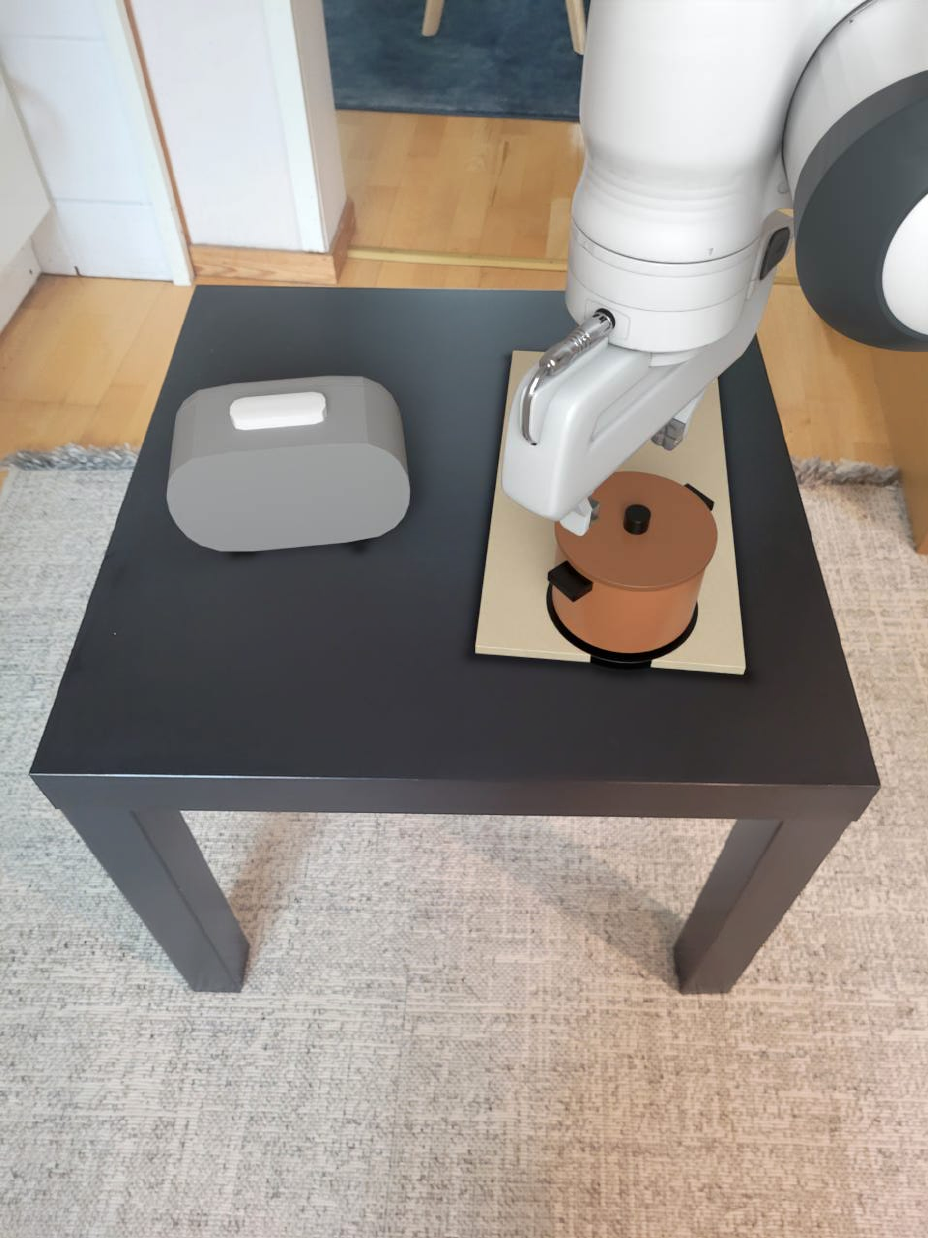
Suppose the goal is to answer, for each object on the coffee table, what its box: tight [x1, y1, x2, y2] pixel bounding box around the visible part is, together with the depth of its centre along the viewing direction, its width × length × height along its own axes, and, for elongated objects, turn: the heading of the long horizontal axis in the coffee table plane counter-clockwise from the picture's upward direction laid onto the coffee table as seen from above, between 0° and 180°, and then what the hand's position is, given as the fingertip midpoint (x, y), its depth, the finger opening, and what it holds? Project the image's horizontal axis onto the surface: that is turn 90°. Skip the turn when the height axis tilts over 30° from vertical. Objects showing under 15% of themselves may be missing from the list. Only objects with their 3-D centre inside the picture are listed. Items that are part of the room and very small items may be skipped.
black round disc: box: [546, 582, 698, 671], centre depth 80 cm, size 13×13×1 cm
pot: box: [547, 471, 718, 653], centre depth 76 cm, size 16×13×11 cm
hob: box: [474, 349, 747, 675], centre depth 90 cm, size 22×41×1 cm, turn 174°
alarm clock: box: [166, 375, 411, 552], centre depth 83 cm, size 21×10×13 cm, turn 97°
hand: (624, 481), depth 56 cm, fingers open, 8 cm apart
